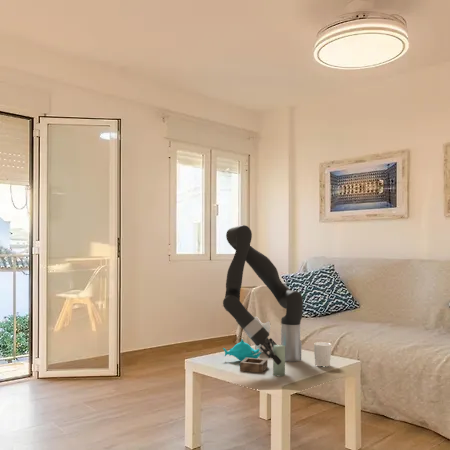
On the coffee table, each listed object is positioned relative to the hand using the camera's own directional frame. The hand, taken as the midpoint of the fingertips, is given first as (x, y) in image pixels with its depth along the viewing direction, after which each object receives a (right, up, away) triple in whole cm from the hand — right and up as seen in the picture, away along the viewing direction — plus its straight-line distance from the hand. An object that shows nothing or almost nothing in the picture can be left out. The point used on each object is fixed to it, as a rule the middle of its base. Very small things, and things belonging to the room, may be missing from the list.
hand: (282, 361), depth 204 cm
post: (-1, -6, 0) cm, 6 cm away
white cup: (+21, -7, +17) cm, 28 cm away
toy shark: (-17, -7, +22) cm, 29 cm away
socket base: (-11, -6, +9) cm, 16 cm away
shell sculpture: (-6, -8, +43) cm, 44 cm away
